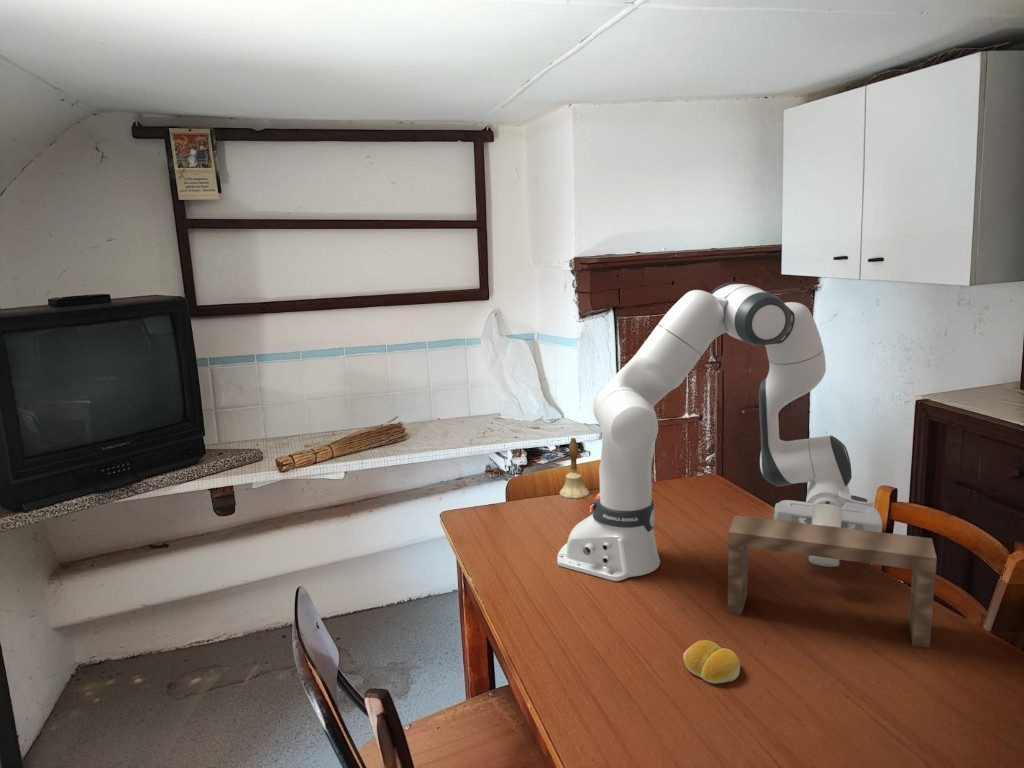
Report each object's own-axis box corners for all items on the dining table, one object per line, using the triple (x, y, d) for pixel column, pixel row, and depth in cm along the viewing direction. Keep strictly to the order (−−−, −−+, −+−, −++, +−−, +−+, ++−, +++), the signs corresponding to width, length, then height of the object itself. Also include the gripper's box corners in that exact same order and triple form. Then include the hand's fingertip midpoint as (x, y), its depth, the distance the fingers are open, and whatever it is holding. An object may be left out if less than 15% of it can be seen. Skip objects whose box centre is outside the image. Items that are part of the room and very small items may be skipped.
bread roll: (723, 692, 111) (723, 670, 110) (676, 668, 118) (675, 647, 117) (751, 669, 117) (751, 648, 116) (704, 647, 123) (704, 627, 122)
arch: (727, 613, 133) (728, 532, 130) (733, 592, 140) (734, 515, 137) (929, 648, 119) (936, 558, 116) (924, 623, 126) (931, 538, 123)
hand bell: (569, 486, 202) (567, 432, 199) (594, 490, 198) (593, 436, 194) (554, 495, 196) (551, 440, 192) (580, 501, 191) (578, 444, 188)
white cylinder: (808, 557, 136) (812, 502, 140) (808, 563, 140) (812, 510, 144) (839, 561, 133) (842, 506, 137) (838, 568, 138) (841, 513, 142)
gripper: (776, 488, 155) (770, 512, 142) (881, 501, 146) (884, 527, 134) (775, 515, 156) (769, 541, 144) (878, 529, 148) (881, 557, 135)
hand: (825, 534), depth 139 cm, fingers closed on white cylinder, 5 cm apart
